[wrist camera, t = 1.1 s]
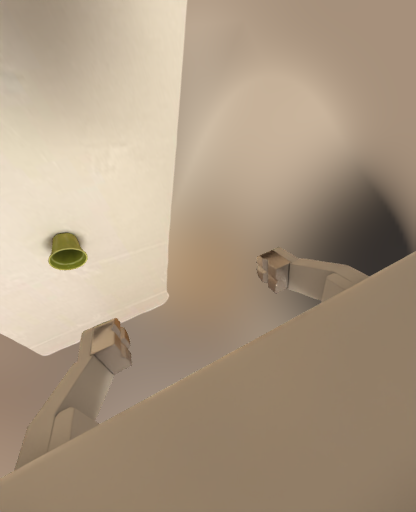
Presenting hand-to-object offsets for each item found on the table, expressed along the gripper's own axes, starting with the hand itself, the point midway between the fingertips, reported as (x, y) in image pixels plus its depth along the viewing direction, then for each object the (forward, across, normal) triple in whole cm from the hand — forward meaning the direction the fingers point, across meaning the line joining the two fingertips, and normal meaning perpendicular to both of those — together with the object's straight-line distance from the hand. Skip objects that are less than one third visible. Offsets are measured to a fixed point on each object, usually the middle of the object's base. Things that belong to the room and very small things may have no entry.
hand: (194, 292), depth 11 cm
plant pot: (+61, +26, +14) cm, 68 cm away
